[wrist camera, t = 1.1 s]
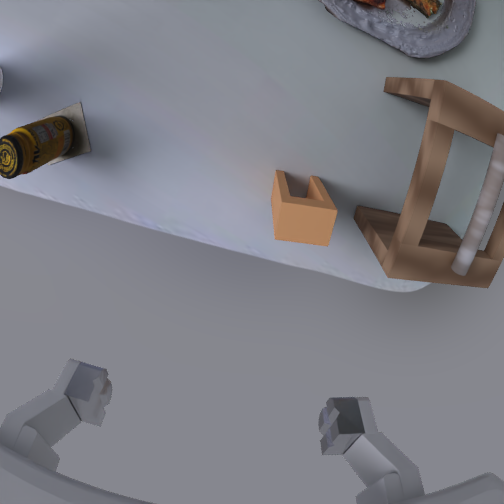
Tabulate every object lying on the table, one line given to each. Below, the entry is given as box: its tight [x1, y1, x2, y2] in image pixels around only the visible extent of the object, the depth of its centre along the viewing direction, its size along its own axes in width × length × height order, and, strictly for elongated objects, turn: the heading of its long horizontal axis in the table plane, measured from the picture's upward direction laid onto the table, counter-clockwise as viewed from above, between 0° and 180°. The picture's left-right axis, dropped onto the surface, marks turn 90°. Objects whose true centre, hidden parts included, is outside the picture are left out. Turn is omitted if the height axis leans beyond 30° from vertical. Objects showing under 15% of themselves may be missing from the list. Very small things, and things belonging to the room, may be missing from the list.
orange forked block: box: [271, 170, 338, 246], centre depth 34 cm, size 4×6×11 cm
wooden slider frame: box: [354, 77, 504, 288], centre depth 29 cm, size 20×16×16 cm
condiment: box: [0, 102, 91, 179], centre depth 30 cm, size 7×8×12 cm
